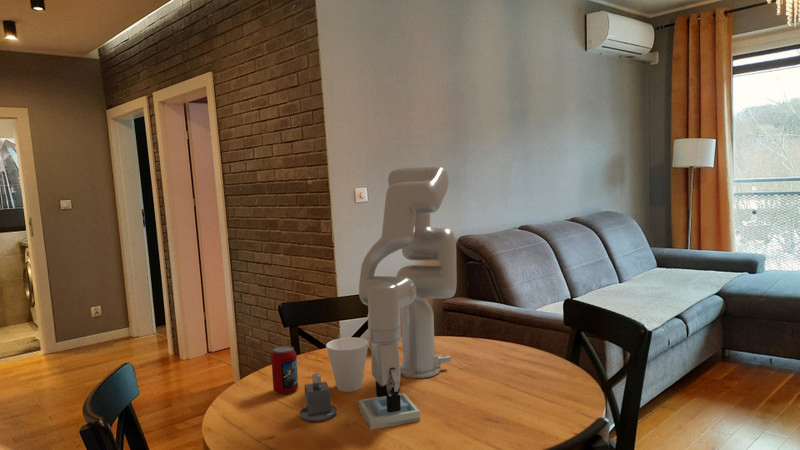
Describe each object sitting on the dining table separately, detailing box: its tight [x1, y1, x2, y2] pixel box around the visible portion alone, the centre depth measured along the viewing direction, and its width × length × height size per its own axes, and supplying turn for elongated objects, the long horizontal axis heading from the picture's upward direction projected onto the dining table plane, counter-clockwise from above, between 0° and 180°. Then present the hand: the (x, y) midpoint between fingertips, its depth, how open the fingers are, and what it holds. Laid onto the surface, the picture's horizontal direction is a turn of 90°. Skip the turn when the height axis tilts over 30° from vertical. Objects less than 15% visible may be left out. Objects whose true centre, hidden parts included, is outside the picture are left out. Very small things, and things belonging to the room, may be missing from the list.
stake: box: [299, 373, 338, 424], centre depth 136 cm, size 9×9×10 cm
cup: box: [325, 337, 369, 393], centre depth 153 cm, size 12×12×12 cm
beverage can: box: [271, 345, 299, 396], centre depth 152 cm, size 7×7×12 cm
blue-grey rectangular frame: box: [371, 397, 410, 417], centre depth 134 cm, size 7×9×2 cm
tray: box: [358, 392, 421, 430], centre depth 134 cm, size 12×12×2 cm
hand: (388, 403), depth 134 cm, fingers open, 9 cm apart
